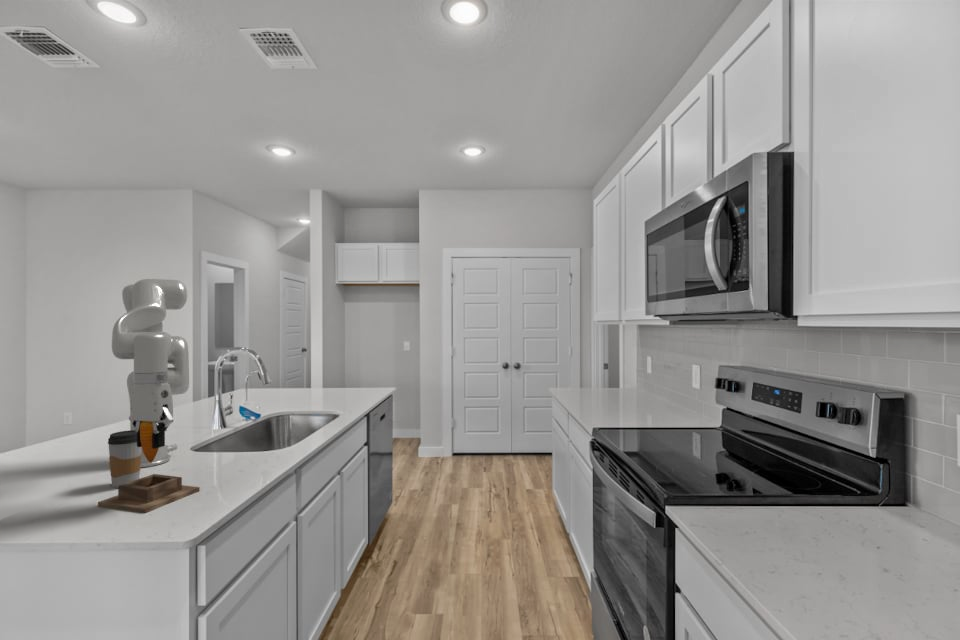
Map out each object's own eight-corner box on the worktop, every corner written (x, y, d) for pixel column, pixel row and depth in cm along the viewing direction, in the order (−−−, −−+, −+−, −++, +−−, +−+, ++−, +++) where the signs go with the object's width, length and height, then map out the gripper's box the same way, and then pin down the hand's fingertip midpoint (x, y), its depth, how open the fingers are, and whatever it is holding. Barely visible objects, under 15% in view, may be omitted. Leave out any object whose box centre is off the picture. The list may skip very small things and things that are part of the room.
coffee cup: (150, 481, 141) (150, 431, 141) (120, 491, 133) (120, 437, 133) (130, 478, 144) (130, 428, 144) (100, 487, 136) (100, 435, 136)
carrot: (146, 459, 130) (146, 405, 130) (165, 459, 130) (165, 404, 130) (135, 465, 125) (135, 408, 125) (155, 464, 125) (154, 407, 126)
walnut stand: (155, 485, 138) (155, 469, 138) (199, 490, 133) (199, 474, 133) (97, 506, 122) (97, 488, 122) (145, 513, 118) (145, 495, 118)
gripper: (187, 378, 129) (187, 445, 129) (140, 376, 134) (140, 441, 134) (162, 381, 122) (162, 452, 122) (113, 379, 127) (113, 448, 127)
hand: (150, 445), depth 128 cm, fingers closed on carrot, 4 cm apart
